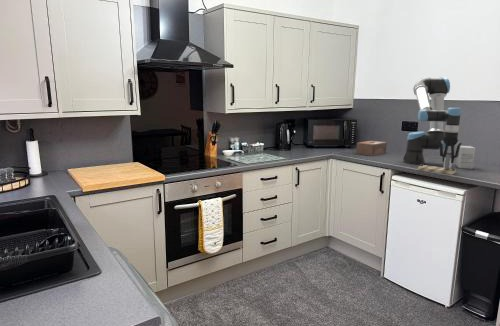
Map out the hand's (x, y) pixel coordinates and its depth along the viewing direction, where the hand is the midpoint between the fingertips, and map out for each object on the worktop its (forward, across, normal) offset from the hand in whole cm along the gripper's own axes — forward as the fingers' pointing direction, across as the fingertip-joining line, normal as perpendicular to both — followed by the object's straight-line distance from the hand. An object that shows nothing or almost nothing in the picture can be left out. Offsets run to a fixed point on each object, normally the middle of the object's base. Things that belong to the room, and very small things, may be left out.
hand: (447, 167), depth 230 cm
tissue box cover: (+4, -71, +40) cm, 81 cm away
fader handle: (+1, 0, 0) cm, 1 cm away
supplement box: (+4, +3, +30) cm, 30 cm away
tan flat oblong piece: (+4, -6, 0) cm, 7 cm away
